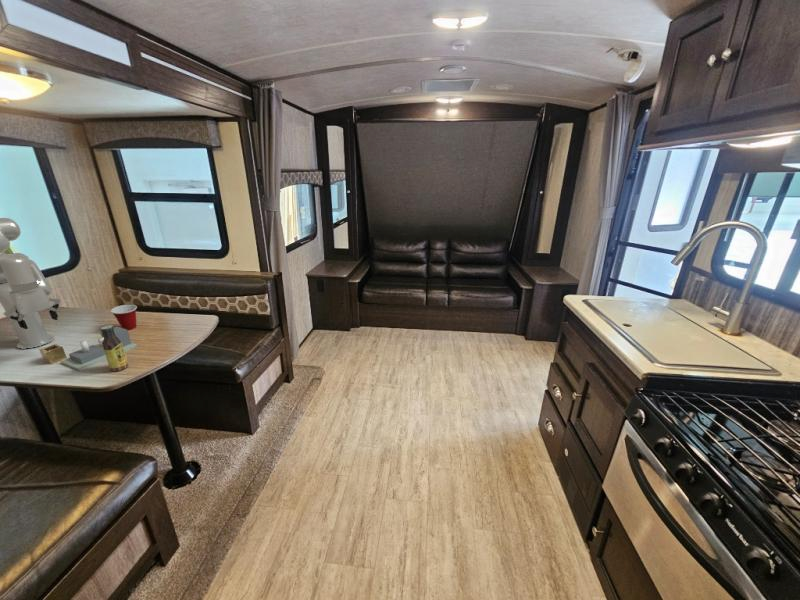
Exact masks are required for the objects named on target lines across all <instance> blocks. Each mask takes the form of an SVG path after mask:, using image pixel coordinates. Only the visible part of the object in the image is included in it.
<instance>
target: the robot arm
mask: <svg viewBox="0 0 800 600" xmlns="http://www.w3.org/2000/svg"><path fill="white" fill-rule="evenodd" d="M21 233H22V232H21V228H20V226H19V224H18V223H17V222H16V221H15V220H14V219H11V218H9V217H0V304H1V306H2V307H3V309H4V312H3V315H4V316H5V317H6V318H8V319H9V321H10V324H11V326H12V328H13V330H14V332H15V334H16V336H17V339H18V340H19V342H18V343H17V344H16V347H18V348H17V349H19V348H21V349H20V350H27V349H26V348H31V349H34V348H33V347H36V348H38V347H37V346H40V347H42V346H41V345H43V344H46V343H48V344H50V343H52V342H53V341H54V340H55V336H54V335H51V334H48V332H47V329H46V327H45V325H44V322H43V320H42V317H41V315H40V313H39V312H41V311H42V312H43V311H46V310H49V311H48V312H49V315H50V318H51V319H52V320H54V321H58V317H59V316H58V314H57V311H58V308H59V307H60V303H61V300H60V299H59V298H50V297H48V296H49V295H51V293H52V288H51V286H50V283H49V282H48V280H47V279H46V277H45V276H44V274H43V272H42V270H41V269H40V268H39V266H38V265H37V263H36V262H35V261H34V260H32V259H30V258H29V256H28V255H26V254H24V253H21V252H14V253H5V251H7V250H8V249H9V248H10V247H11V246H10V245H11V242H12V241H15V240H17V239H18V238H19V237H20V236H21ZM51 302H53V303H54V304H51ZM51 341H52V342H51ZM49 342H50V343H49ZM46 345H47V344H46ZM43 346H44V345H43Z"/></svg>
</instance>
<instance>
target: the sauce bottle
mask: <svg viewBox="0 0 800 600" xmlns="http://www.w3.org/2000/svg"><path fill="white" fill-rule="evenodd" d="M100 332H102V333H103V337H104V340H103V342H102V343H101V345H103V348H104V352H105V355H106V358H107V359H106V361H107V364H108V366H109V368H110V370H111V371H112V372H119V371H124V370H125V369H127V368H128V367H129V361H128V357H127V354H126V351H124V348H123V345H122V342H121V341H120V340H119V338H118V337H117V336H116V335H115V333H114V326H113V325H104V326H102V327H100Z"/></svg>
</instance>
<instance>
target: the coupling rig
mask: <svg viewBox="0 0 800 600" xmlns="http://www.w3.org/2000/svg"><path fill="white" fill-rule="evenodd" d="M113 328H114V333H115V335H116V336H117V337H118V338H119V340H120V341H121V342H122V345H123V348H124V351H125V352H127V351H129V350H132V349H134V348H137V347H138V345H137V344H136V343H133V342H132V341H131V338H130V335H129V332H128V331H129V330H126V329H123V328H122V327H119V326H115V327H114V326H113ZM100 337H101V338H99V339H97V342H98V343H99V344H101V345H99V346H97V345H95V344H92V345H90V346H89V344H88V341H87V340H82V341H79V344H80V347H81V349H78V350H75V351H74V352H71V353H69V354H68V356H69V357H67V358H66V359H63V360H61V361H60V362H61V364H63V365H65V366H67V367H70V368H72V369H74V370H76V371H79V372H80V371H83V370H85V369H87V368H89V367H92V366H94V365H96V364H99V363H103V362H104V361H107V358H106V355H105V352H104V348H103V345H102V342H103V340H104V337H103V333H102V332H101V331H100Z"/></svg>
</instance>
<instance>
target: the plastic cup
mask: <svg viewBox="0 0 800 600" xmlns="http://www.w3.org/2000/svg"><path fill="white" fill-rule="evenodd" d="M137 308H138V306H137V305H135V304H123V305H117V306H114V307H113V308H112V309H110V313H112V314H113V315H114V317H115V318H116V321H117V322H118V325H120V326H121V327H120V328H123V329H126V330H127V331H131V330H135V329H136V328H137V326H138V325H137V313H136V312H137Z"/></svg>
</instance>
